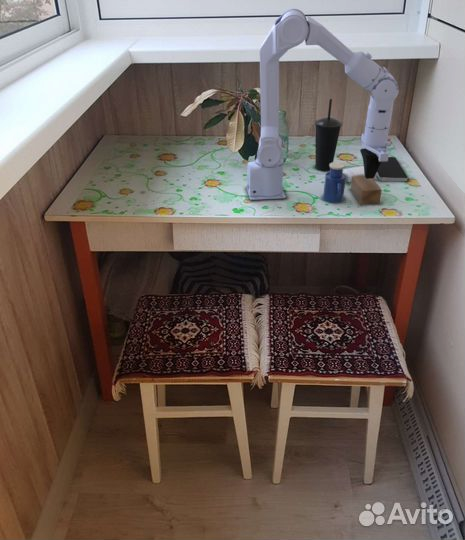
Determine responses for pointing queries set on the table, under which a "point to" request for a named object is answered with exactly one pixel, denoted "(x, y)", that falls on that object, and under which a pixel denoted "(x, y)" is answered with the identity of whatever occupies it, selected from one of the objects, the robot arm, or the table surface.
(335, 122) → the drinking cup
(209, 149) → the table surface
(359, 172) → the eye dropper bottle
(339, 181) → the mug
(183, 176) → the table surface
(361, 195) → the oak block
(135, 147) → the table surface
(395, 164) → the smartphone
